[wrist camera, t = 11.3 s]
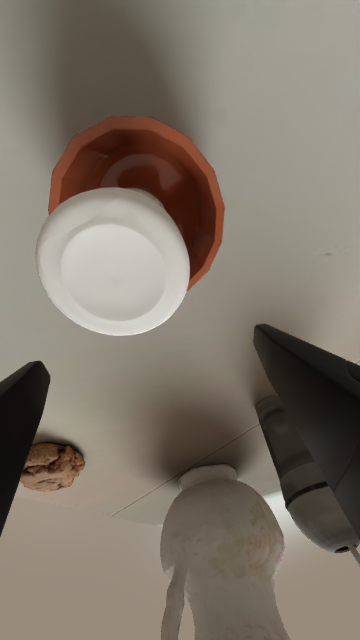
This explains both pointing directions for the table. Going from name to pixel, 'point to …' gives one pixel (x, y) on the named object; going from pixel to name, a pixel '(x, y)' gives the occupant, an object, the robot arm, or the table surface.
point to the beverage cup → (304, 482)
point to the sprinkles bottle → (113, 260)
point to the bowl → (148, 178)
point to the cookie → (51, 467)
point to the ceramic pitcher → (221, 558)
